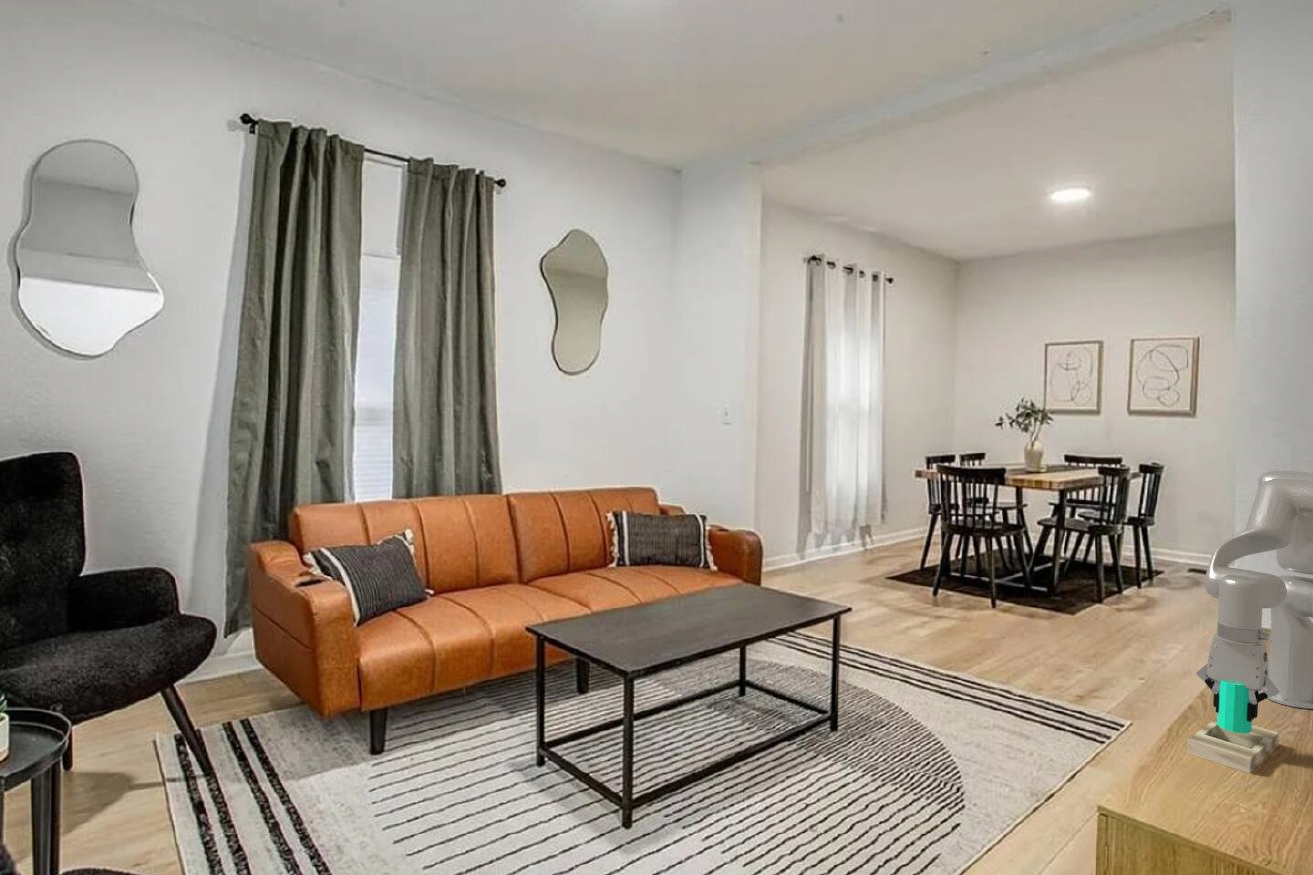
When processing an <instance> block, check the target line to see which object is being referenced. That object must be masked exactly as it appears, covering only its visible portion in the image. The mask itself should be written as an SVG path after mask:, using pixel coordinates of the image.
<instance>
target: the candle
mask: <svg viewBox="0 0 1313 875" xmlns="http://www.w3.org/2000/svg"><path fill="white" fill-rule="evenodd" d="M1248 703H1251V702H1250V699H1249V689H1247V688H1246V686H1245V685H1244V684H1230V683H1227V682H1225V681H1222V680H1221V682H1220V689H1219V713H1217V716H1216V718H1217V724H1218V726H1219V727H1221V728H1223V729H1225V730H1228V731H1231V732H1236V733H1250V732H1252V725H1253V720H1252V721H1251V722H1249V721H1247V708H1248Z"/></svg>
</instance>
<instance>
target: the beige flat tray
mask: <svg viewBox="0 0 1313 875" xmlns="http://www.w3.org/2000/svg"><path fill="white" fill-rule="evenodd" d="M1279 739H1280V732H1277V731H1275V730H1270V729H1268V728H1267V729H1266V728H1263V727H1260V726H1256V725H1253V724H1252V732H1250V733H1236V732H1231V731H1228V730H1225V729H1223V728H1221V727H1219V726H1218V724H1217V717H1216V718H1214V719H1213V720H1212V721H1211V722H1209V723H1208V724H1207V725H1205V726H1203V727H1202V728H1201V729H1199V730H1198V731H1197V732H1195V733H1194V734H1193V735H1192V736H1191V737H1189V738H1188V739H1187V747H1186V753H1187V754H1189V755H1193V756H1195V757H1198V758H1201V759H1205V760H1208V761H1210V762H1214V763H1216V764H1219V765H1223V766H1225V767H1229V768H1231V769H1235V770H1238V771H1241V772H1244V773H1247V774H1252V772H1253V771H1254V770H1255V769H1256V768H1257V767H1259V765H1260V764H1261V763H1262V762H1263V761H1265V760H1266V759H1267V758H1268V757H1269V755H1271V754H1272V753H1273V752H1274V751H1275V750H1276V749H1277V748H1278V747H1279V743H1280V742H1279V741H1280V740H1279Z"/></svg>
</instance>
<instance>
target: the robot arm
mask: <svg viewBox="0 0 1313 875" xmlns="http://www.w3.org/2000/svg"><path fill="white" fill-rule="evenodd" d="M1275 550H1276V551H1275ZM1271 551H1275V552H1276V562H1277V564H1278V565H1279V567H1280V568H1281V569H1283V570H1286V571H1288V572H1292V573H1297V574H1305V575H1310V576H1311V575H1312V576H1313V472H1305V471H1290V470H1271V471H1266V472H1263V473H1262V474H1261V475H1260V476H1259V478H1258V488H1257V490H1256V494H1255V497H1254V501H1253V503H1252V507H1251V510H1250V514H1249V517H1248V520H1247V522H1246V526H1245V529H1243V530H1241V531H1239V532H1237V533H1236V534H1234V535H1232V536H1230V537H1228V538H1227V539H1225V540H1224V541H1223V542H1222V543H1220V544H1219V545H1218V546H1217V547H1216V549H1215V550H1214V551H1213V553H1212V554H1211V558H1210V559H1209V564H1208V566H1207V569H1206V573H1205V578H1204V589H1205V591H1206V593H1207V594H1208V595H1209V596H1210V597H1212V598H1214V599H1218V610H1217V611H1218V612H1217V630H1216V631H1217V633H1215V634H1213V637H1212V639H1211V643H1210V646H1209V647H1210V648H1209V653H1208V659H1207V663H1206V664H1205V665H1204V666H1203V667H1201V668H1200V669H1199V670H1197V671H1196V673H1195V674H1196V675H1197V676H1198V678H1200V679H1201V680H1202V681H1203V682H1204V683H1205V685H1206V686H1208V688H1209V689H1210V690H1211V692H1212V693H1213V702H1212V704H1213V708H1214V707H1215V713H1217V714H1218V713H1219V689H1220V682H1221V680H1222V681H1225V682H1227V683H1230V684H1244V685H1245V686H1246V688H1247V689H1249V699H1250V702H1251V703H1248V708H1247V721H1249V722H1251V721H1252V722H1253V720H1255V719H1256V718H1258V716H1259V715H1258V714H1259V703H1261V702H1263V701H1264V700H1266V699H1267V700H1269V701H1272V702H1275V703H1278V704H1281V705H1285V706H1288V707H1292V708H1299V709H1307V710H1309V709H1310V710H1313V622H1312V620H1311V619H1312V618H1313V578H1312V577H1307V576H1305V577H1304V576H1298V575H1290V574H1289V575H1287V574H1286V575H1279V576H1278V575H1275V574H1272V573H1271V574H1270V573H1267V572H1261V571H1260V572H1259V571H1255V570H1248V569H1243V568H1237V567H1236V568H1235V567H1230V566H1231V564H1232V563H1233V562H1235V561H1237V560H1238V559H1241V558H1244V557H1247V556H1250V555H1255V554H1261V553H1266V552H1271ZM1263 609H1270V619H1271V620H1270V622H1271V623H1270V633H1266V632H1264V631H1263V628H1262V623H1263ZM1310 618H1311V619H1310ZM1269 640H1270V643H1269V644H1270V645H1269V646H1270V647H1269V657H1268V649H1267V645H1266V643H1265V642H1263V641H1269Z"/></svg>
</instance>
